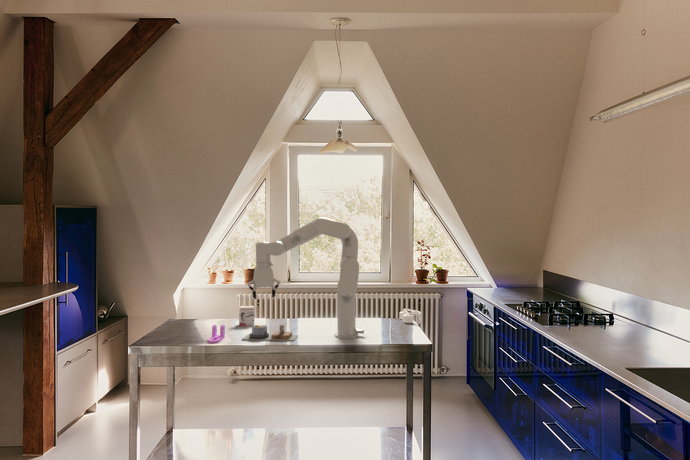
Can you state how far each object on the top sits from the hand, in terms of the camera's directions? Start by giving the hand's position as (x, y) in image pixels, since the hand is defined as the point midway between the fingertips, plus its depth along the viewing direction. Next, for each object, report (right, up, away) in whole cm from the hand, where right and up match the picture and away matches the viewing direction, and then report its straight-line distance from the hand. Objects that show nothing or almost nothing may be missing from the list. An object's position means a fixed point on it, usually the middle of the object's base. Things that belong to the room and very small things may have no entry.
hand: (264, 298), depth 246 cm
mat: (+4, -21, -3) cm, 21 cm away
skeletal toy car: (+82, -22, +41) cm, 95 cm away
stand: (+10, -20, -3) cm, 22 cm away
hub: (-2, -20, -2) cm, 20 cm away
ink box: (-15, -21, +29) cm, 39 cm away
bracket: (-23, -21, -7) cm, 32 cm away
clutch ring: (-2, -18, -2) cm, 19 cm away
